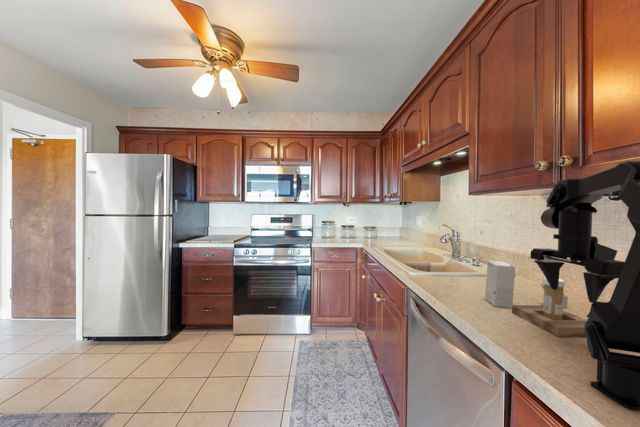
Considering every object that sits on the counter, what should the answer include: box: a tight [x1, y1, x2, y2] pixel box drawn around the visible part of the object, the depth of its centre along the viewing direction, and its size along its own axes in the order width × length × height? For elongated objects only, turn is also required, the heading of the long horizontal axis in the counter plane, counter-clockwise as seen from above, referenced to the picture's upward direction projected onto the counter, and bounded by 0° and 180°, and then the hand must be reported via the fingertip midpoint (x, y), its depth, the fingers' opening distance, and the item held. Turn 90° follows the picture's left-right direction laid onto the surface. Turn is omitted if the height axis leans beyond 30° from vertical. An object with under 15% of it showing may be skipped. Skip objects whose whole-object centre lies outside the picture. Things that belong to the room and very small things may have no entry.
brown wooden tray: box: [511, 304, 588, 338], centre depth 77 cm, size 16×13×2 cm
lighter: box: [540, 282, 569, 310], centre depth 91 cm, size 7×2×8 cm, turn 65°
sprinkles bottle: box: [542, 276, 565, 320], centre depth 77 cm, size 5×5×14 cm
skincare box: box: [484, 259, 516, 309], centre depth 93 cm, size 8×6×15 cm
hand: (572, 295), depth 62 cm, fingers open, 9 cm apart
